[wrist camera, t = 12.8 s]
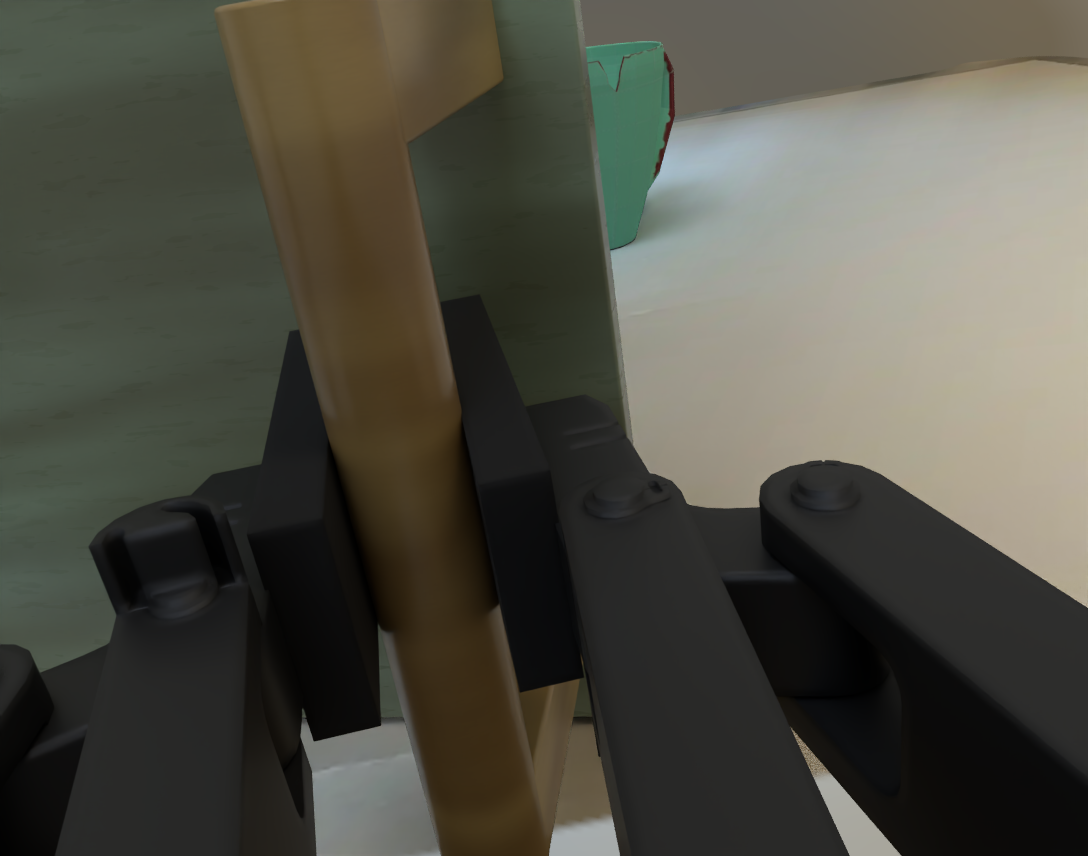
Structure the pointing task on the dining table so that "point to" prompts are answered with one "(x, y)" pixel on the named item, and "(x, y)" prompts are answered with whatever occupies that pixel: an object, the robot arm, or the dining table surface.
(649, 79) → the mug
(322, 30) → the cupboard door
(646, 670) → the robot arm
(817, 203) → the dining table surface
